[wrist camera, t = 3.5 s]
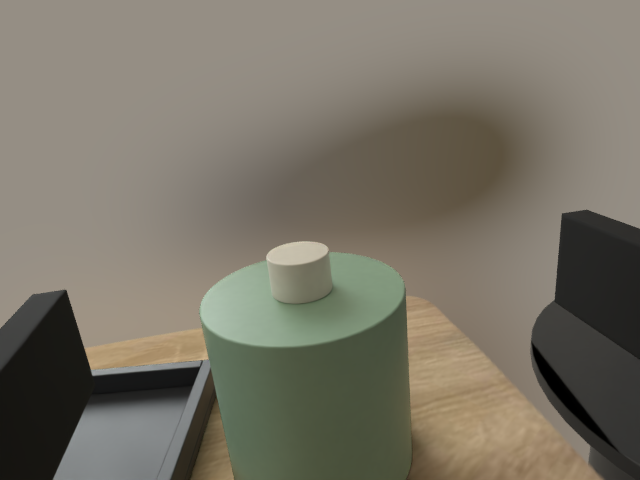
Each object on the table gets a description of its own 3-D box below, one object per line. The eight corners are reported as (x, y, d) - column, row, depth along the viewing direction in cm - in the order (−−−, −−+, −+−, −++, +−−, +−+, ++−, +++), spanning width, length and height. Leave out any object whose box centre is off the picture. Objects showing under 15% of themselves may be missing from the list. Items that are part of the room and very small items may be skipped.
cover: (396, 385, 31) (387, 212, 27) (430, 523, 21) (425, 288, 17) (246, 398, 31) (215, 228, 27) (216, 539, 22) (161, 312, 18)
